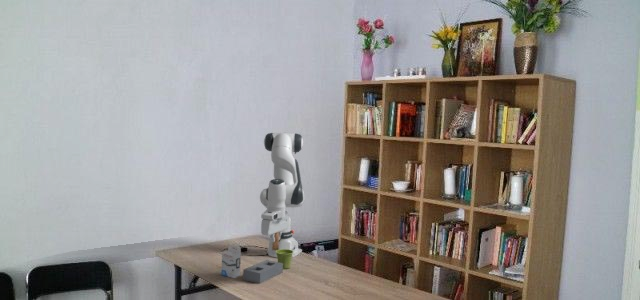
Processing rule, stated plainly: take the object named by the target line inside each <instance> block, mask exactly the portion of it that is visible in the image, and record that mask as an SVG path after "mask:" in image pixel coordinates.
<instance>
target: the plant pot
mask: <svg viewBox="0 0 640 300" xmlns="http://www.w3.org/2000/svg"><path fill="white" fill-rule="evenodd" d="M276 253H277V257H276V259H277V262H280V263H283V270H286V269H291V263H292V258H293V257H292V254H293V251H292V250H288V249H280V250H277V251H276Z"/></svg>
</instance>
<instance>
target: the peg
mask: <svg viewBox="0 0 640 300" xmlns="http://www.w3.org/2000/svg"><path fill="white" fill-rule="evenodd" d="M274 238H276V240H275V242H273V243H272V250H278V249H279V232H277V233H275V235H274Z"/></svg>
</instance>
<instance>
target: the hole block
mask: <svg viewBox="0 0 640 300" xmlns="http://www.w3.org/2000/svg"><path fill="white" fill-rule="evenodd" d="M283 270H284V269H283V263H280V262H278V261H275V260H268V259H265V260H263V261H261V262H259V263H256V264H253V265H251V266H249V267H246V268H244V269H243V271H242V280H243V281H246V282H251V283H256V284H262V283H265V282H266V281H268V280H270V279H272V278H274V277H276V276H279V275H280V274H283Z"/></svg>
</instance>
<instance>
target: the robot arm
mask: <svg viewBox="0 0 640 300" xmlns="http://www.w3.org/2000/svg"><path fill="white" fill-rule="evenodd" d="M263 145H264V149H265V150H267V152H271V153H270V155H271V158H270V159H271V161H272V164H273V178H274V179H271V180H269V183H268V187H267V188H263V189H262V191H260V195H259V201H260V203H261V204H262V205H263V206H264V207H265V209H266V210H265V211H264V212H262V213H261V219H262V220H261V224H260V226H261V227H260V229H261V232H260V233H261V234H262V236H266V237H267V236H269V240H268V248H267V250H266V253H267V254H268V256H269V257H272V258H277V253H276V251H277V250H272V243H273V242H275V240H276V238H274V235H275V233H277V232H279V249H278V250H280V249H288V250H292V251H293V254H292V258H296V257H297V256H298V255H299V254H300V253H302V251H303V249H301V248H300V247H299V243H298V241H297V240H296V238H294V237H293V234H295V229H293V230H292V229H291V227H292V219H291V218H292V217H291V216H290V215H289V214H288V212H287V209H286V208H292V209H293V208H299V207H302V205H303V204H304V202H305V192H304V188H303V185H302V180H301V172H300V171H301V170H300V167H299V162H298V160H297V159H296V158H295V157H294V155H296V154H297V153H299V152H300V151H301V150H302V148H303V147H304V139H303V136H302V135H301V134H300V133H292V132H275V133H273V132H269V133H267V134H265V136H264V139H263ZM293 153H294V155H293Z"/></svg>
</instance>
